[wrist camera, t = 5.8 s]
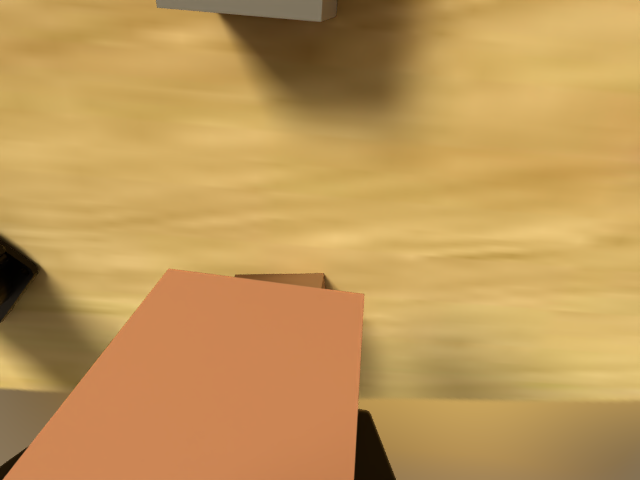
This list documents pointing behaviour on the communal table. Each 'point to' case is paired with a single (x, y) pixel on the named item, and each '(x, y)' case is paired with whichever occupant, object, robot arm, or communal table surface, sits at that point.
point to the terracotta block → (214, 389)
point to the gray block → (260, 8)
